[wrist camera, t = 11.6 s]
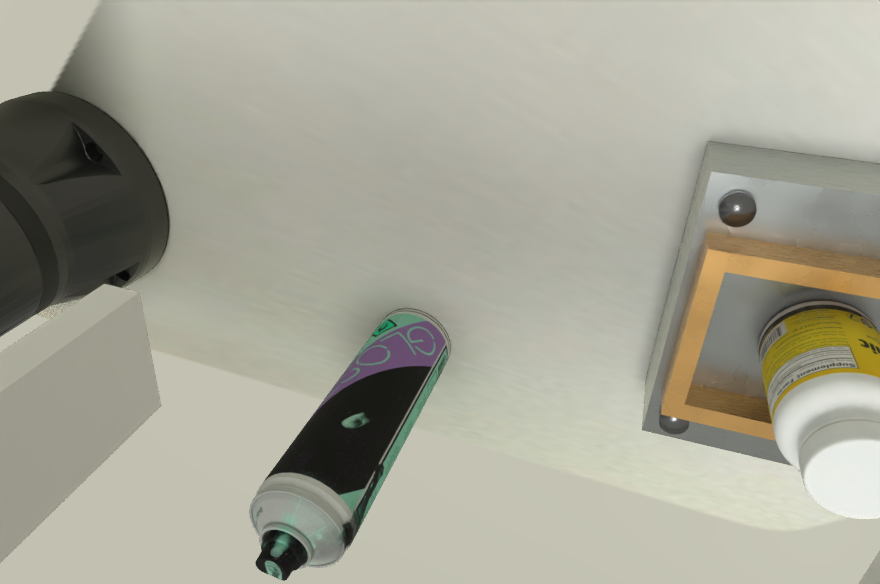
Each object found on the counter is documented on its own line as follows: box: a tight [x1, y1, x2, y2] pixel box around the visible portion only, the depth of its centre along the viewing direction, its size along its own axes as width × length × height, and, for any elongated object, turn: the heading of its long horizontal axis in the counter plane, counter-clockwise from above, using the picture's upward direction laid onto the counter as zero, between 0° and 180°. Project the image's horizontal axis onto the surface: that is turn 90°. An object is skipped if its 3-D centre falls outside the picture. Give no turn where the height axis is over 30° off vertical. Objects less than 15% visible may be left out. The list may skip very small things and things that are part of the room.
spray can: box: [249, 309, 451, 580], centre depth 39 cm, size 6×6×20 cm
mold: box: [642, 141, 880, 466], centre depth 34 cm, size 14×16×7 cm
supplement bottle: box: [758, 301, 880, 519], centre depth 29 cm, size 5×5×10 cm
